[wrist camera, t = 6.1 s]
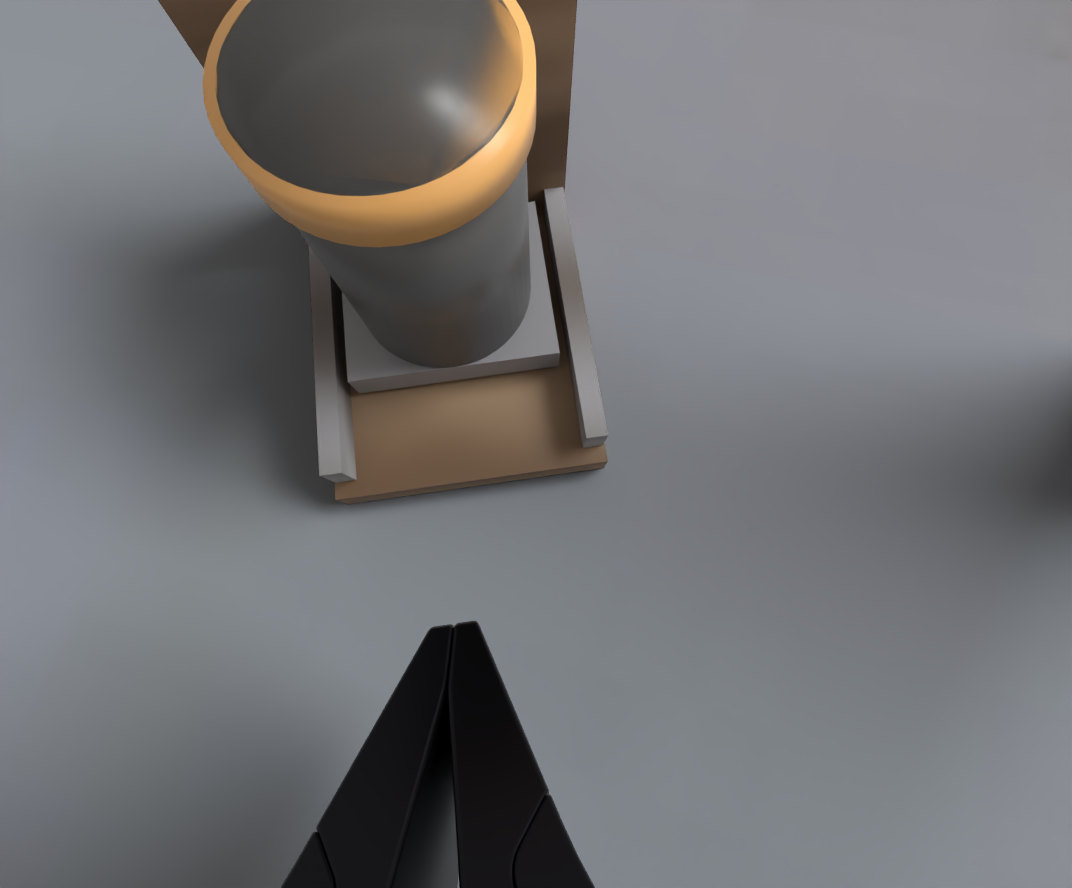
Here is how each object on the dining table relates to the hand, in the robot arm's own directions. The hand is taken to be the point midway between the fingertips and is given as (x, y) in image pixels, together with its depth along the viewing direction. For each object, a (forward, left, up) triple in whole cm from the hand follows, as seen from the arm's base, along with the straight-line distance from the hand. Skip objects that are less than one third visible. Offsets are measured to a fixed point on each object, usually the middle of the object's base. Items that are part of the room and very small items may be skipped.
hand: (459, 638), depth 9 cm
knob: (+7, -7, -5) cm, 11 cm away
